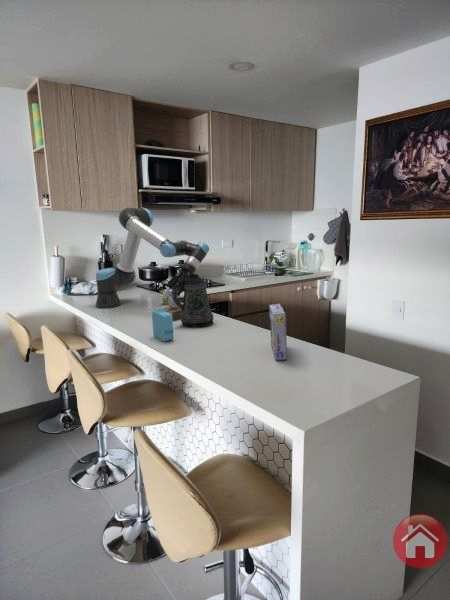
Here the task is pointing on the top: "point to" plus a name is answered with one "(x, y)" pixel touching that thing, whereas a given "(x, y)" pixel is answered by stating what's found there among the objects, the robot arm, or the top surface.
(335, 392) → the top surface
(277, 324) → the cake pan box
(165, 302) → the plant pot
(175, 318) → the walnut block
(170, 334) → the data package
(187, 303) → the beer stein
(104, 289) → the robot arm
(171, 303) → the medicine box
